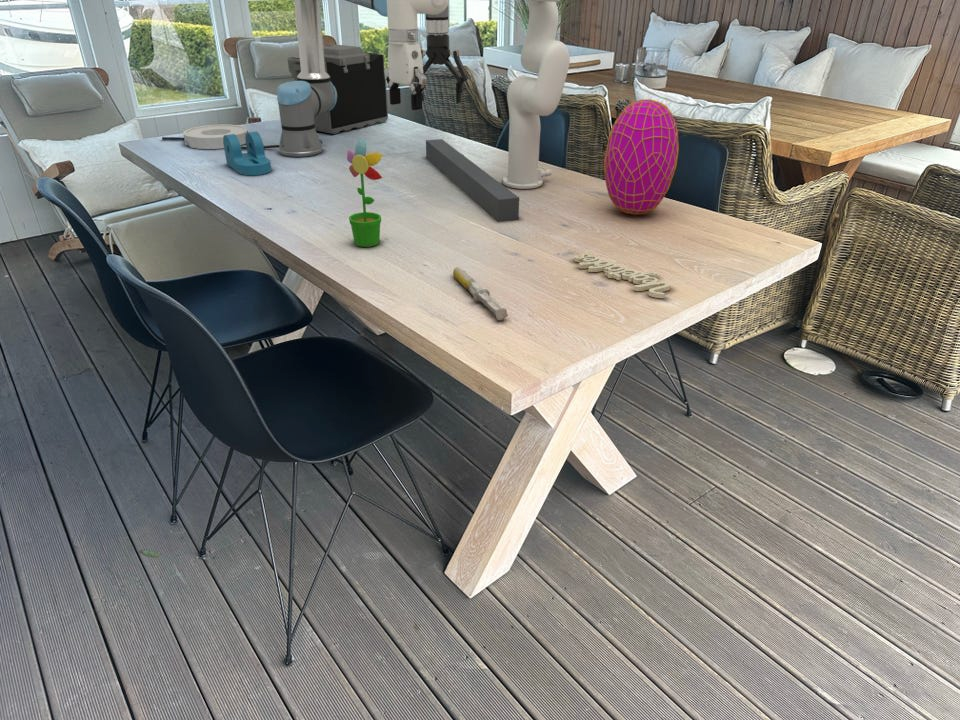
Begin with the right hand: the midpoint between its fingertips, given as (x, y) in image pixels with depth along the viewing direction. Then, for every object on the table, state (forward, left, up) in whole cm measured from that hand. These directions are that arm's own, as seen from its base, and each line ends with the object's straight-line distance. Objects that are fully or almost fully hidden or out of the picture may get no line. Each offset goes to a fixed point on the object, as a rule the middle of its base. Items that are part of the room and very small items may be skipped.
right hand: (406, 106), depth 185 cm
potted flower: (+21, +25, -27) cm, 42 cm away
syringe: (+9, +65, -27) cm, 71 cm away
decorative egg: (-55, +33, -27) cm, 69 cm away
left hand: (-30, -48, -8) cm, 57 cm away
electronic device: (-12, -111, -27) cm, 115 cm away
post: (-23, -12, -27) cm, 37 cm away
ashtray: (+40, -100, -27) cm, 111 cm away
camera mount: (+35, -57, -27) cm, 72 cm away
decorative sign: (-26, +68, -27) cm, 78 cm away
